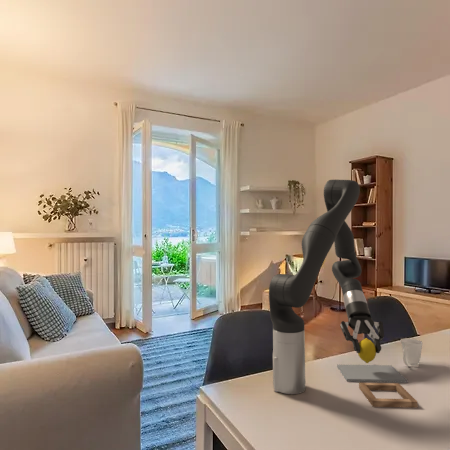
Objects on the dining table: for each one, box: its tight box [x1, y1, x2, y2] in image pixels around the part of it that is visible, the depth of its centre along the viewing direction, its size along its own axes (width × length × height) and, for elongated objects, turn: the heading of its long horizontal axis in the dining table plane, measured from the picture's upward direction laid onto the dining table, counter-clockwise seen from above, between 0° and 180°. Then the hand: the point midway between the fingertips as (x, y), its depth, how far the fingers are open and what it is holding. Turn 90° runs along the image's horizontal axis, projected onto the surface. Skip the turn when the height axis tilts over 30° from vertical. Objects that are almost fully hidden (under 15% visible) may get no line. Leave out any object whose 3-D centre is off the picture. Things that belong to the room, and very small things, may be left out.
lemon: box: [357, 337, 377, 364], centre depth 115 cm, size 6×6×8 cm
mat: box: [336, 364, 408, 383], centre depth 114 cm, size 18×12×1 cm, turn 86°
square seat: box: [358, 382, 419, 409], centre depth 98 cm, size 11×11×2 cm
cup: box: [400, 337, 423, 368], centre depth 121 cm, size 7×10×8 cm
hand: (368, 351), depth 113 cm, fingers closed on lemon, 5 cm apart
